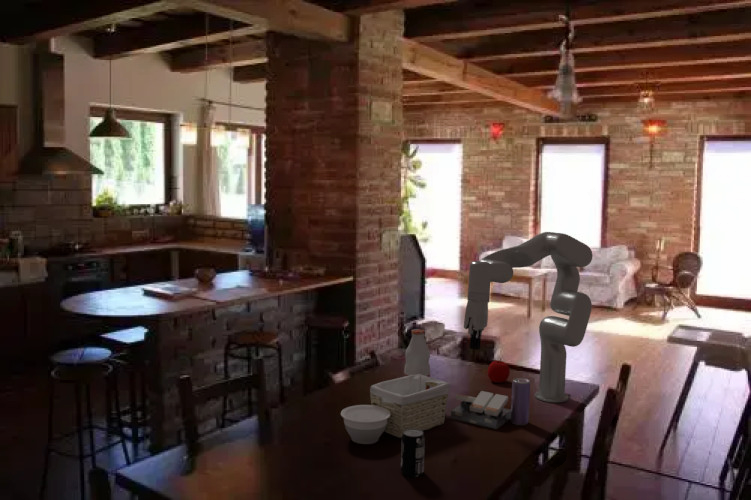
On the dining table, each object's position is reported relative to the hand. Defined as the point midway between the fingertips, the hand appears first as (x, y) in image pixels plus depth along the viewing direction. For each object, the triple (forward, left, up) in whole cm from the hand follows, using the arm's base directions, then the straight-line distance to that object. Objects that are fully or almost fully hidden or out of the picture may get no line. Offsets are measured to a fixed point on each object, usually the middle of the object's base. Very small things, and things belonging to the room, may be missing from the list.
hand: (474, 348), depth 239 cm
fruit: (-43, -9, -25) cm, 50 cm away
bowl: (+40, -19, -25) cm, 50 cm away
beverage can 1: (+53, +6, -24) cm, 58 cm away
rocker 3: (+1, +9, -18) cm, 20 cm away
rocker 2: (+1, +4, -18) cm, 19 cm away
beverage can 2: (-3, +16, -24) cm, 30 cm away
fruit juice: (+2, -22, -24) cm, 33 cm away
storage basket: (+22, -13, -25) cm, 35 cm away
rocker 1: (+1, -2, -18) cm, 18 cm away
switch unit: (+1, +4, -24) cm, 24 cm away
